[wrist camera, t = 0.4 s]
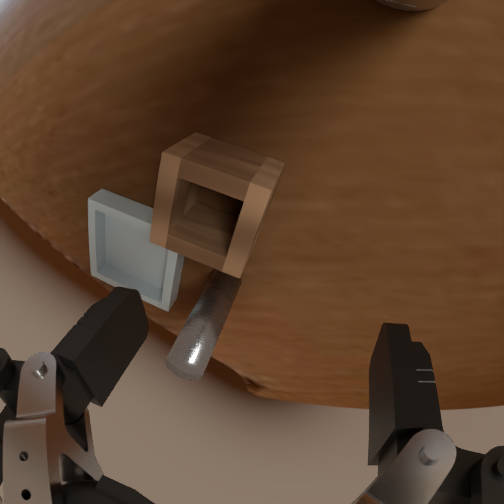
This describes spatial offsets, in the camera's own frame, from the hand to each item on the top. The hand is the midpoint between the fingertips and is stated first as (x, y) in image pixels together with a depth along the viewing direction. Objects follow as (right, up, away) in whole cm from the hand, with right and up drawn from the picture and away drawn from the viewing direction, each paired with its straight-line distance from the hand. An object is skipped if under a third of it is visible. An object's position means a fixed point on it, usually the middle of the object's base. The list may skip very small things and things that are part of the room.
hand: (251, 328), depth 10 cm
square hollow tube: (-2, +8, +18) cm, 20 cm away
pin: (-3, 0, +24) cm, 24 cm away
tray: (-13, +3, +24) cm, 27 cm away
